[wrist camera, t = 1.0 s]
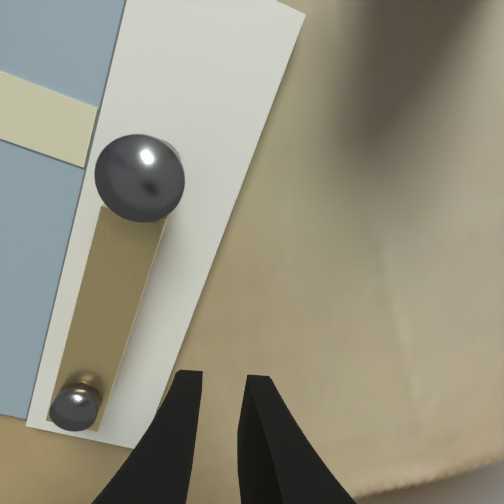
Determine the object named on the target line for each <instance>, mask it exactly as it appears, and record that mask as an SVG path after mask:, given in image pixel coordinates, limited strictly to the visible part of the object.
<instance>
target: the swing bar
mask: <svg viewBox="0 0 504 504" xmlns="http://www.w3.org/2000/svg"><path fill="white" fill-rule="evenodd" d="M168 218H169V214H168V215H167V216H166V217H164V218H162V219H160V220H157V221H153V222H146V223H140V222H133V221H129V220H127V219H124V218H122V217H120V216H118V215H117V214H115V213H114V212H113V211H111V210H110V209H109V208H108V207H107V206H106V205H105V203H104V204H103V205H101V208H100V212H99V216H98V220H97V224H96V228H95V232H94V235H93V239H92V243H91V247H90V251H89V255H88V259H87V263H86V266H85V270H84V274H83V278H82V282H81V286H80V290H79V294H78V297H77V301H76V305H75V309H74V313H73V317H72V321H71V324H70V328H69V332H68V336H67V340H66V344H65V348H64V352H63V355H62V359H61V363H60V367H59V371H58V375H57V379H56V383H55V386H54V390H53V394H52V398H51V402H50V406H49V410H48V413H47V417H46V421H49V422H53V423H54V424H55V425H56V426H58V427H59V428H61V429H63V430H66V431H72V432H77V431H83V430H86V429H87V430H91V431H96V432H98V430H99V427H100V424H101V422H102V419H103V416H104V414H105V411H106V408H107V406H108V403H109V400H110V398H111V395H112V392H113V388H114V385H115V382H116V379H117V376H118V373H119V370H120V367H121V364H122V360H123V357H124V354H125V351H126V348H127V345H128V342H129V339H130V336H131V332H132V329H133V326H134V323H135V320H136V317H137V314H138V311H139V308H140V305H141V301H142V298H143V295H144V292H145V289H146V286H147V283H148V280H149V277H150V273H151V270H152V267H153V264H154V261H155V258H156V255H157V252H158V249H159V245H160V242H161V239H162V236H163V233H164V230H165V227H166V224H167V221H168Z"/></svg>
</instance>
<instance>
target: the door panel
mask: <svg viewBox="0 0 504 504" xmlns="http://www.w3.org/2000/svg"><path fill="white" fill-rule="evenodd" d="M304 18H305V14H303V13H301V12H299V11H297V10H295V9H293V8H291V7H289V6H287V5H285V4H282V3H280V2H278V1H276V0H0V414H4V415H8V416H13V417H18V418H22V419H26V420H25V421H27V422H26V426H28V427H33V428H37V429H42V430H47V431H52V432H56V433H61V434H66V435H71V436H75V437H80V438H85V439H89V440H94V441H99V442H104V443H108V444H113V445H118V446H123V447H127V448H132V449H134V448H135V447H136V445H137V444H138V442H139V441H140V439H141V438H142V436H143V435H144V434H145V432H146V430H147V429H148V427H149V426H150V424H151V422H152V421H153V419H154V416H155V414H156V411H157V408H158V406H159V403H160V400H161V398H162V395H163V392H164V390H165V387H166V384H167V382H168V379H169V376H170V374H171V371H172V368H173V366H174V363H175V360H176V358H177V355H178V353H179V350H180V347H181V345H182V342H183V339H184V337H185V334H186V331H187V329H188V326H189V323H190V321H191V318H192V315H193V313H194V310H195V307H196V305H197V302H198V299H199V297H200V294H201V291H202V289H203V286H204V284H205V281H206V278H207V276H208V273H209V270H210V268H211V265H212V262H213V260H214V257H215V254H216V252H217V249H218V246H219V244H220V241H221V238H222V236H223V233H224V230H225V228H226V225H227V222H228V220H229V217H230V215H231V212H232V209H233V207H234V204H235V201H236V199H237V196H238V193H239V191H240V188H241V185H242V183H243V180H244V177H245V175H246V172H247V169H248V167H249V164H250V161H251V159H252V156H253V153H254V151H255V148H256V146H257V143H258V140H259V138H260V135H261V132H262V130H263V127H264V124H265V122H266V119H267V116H268V114H269V111H270V108H271V106H272V103H273V100H274V98H275V95H276V92H277V90H278V87H279V84H280V82H281V79H282V76H283V74H284V71H285V69H286V66H287V63H288V61H289V58H290V55H291V53H292V50H293V47H294V45H295V42H296V39H297V37H298V34H299V31H300V29H301V26H302V23H303V21H304ZM130 134H146V135H150V136H154V137H156V138H158V139H162V140H164V141H167V142H168V143H170V144H171V145H172V146H173V147H174V148H175V149H176V150H177V152H178V153H179V155H180V158H181V163H182V165H183V168H184V172H185V188H184V192H183V195H182V197H181V200H180V202H179V203H178V205H177V206H176V208H175V209H174V210H173V211H172V212H171V213H170V214H169V218H168V221H167V224H166V227H165V230H164V233H163V236H162V239H161V242H160V245H159V249H158V252H157V255H156V258H155V261H154V264H153V267H152V270H151V273H150V277H149V280H148V283H147V286H146V289H145V292H144V295H143V298H142V301H141V305H140V308H139V311H138V314H137V317H136V320H135V323H134V326H133V329H132V332H131V336H130V339H129V342H128V345H127V348H126V351H125V354H124V357H123V360H122V364H121V367H120V370H119V373H118V376H117V379H116V382H115V385H114V388H113V392H112V395H111V398H110V400H109V403H108V406H107V408H106V411H105V414H104V416H103V419H102V422H101V424H100V427H99V430H98V432H96V431H91V430H87V429H86V430H83V431H77V432H72V431H66V430H63V429H61V428H59V427H58V426H56V425H55V424H54V423H53V422H49V421H46V417H47V413H48V410H49V406H50V402H51V398H52V394H53V390H54V386H55V383H56V379H57V375H58V371H59V367H60V363H61V359H62V355H63V352H64V348H65V344H66V340H67V336H68V332H69V328H70V324H71V321H72V317H73V313H74V309H75V305H76V301H77V297H78V294H79V290H80V286H81V282H82V278H83V274H84V270H85V266H86V263H87V259H88V255H89V251H90V247H91V243H92V239H93V235H94V232H95V228H96V224H97V220H98V216H99V212H100V208H101V205H103V204H104V202H103V201H102V199H101V197H100V195H99V194H98V191H97V188H96V185H95V178H94V171H95V165H96V162H97V159H98V157H99V155H100V153H101V152H102V150H103V149H104V148H105V147H106V146H107V145H108V144H109V143H111V142H112V141H114V140H115V139H117V138H120V137H123V136H126V135H130Z"/></svg>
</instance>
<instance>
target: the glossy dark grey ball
mask: <svg viewBox="0 0 504 504" xmlns="http://www.w3.org/2000/svg"><path fill="white" fill-rule="evenodd" d="M94 178H95V185H96V188H97V191H98V194H99V195H100V197H101V199H102V201H103V202H104V203H105V205H106V206H107V207H108V208H109V209H110V210H111V211H113V212H114V213H115V214H117V215H118V216H120V217H122V218H124V219H127V220H129V221H133V222H140V223H146V222H153V221H157V220H160V219H162V218H164V217H166V216H167V215H168V214H170V213H171V212H172V211H173V210H174V209H175V208H176V206H177V205H178V203H179V202H180V200H181V197H182V195H183V192H184V188H185V172H184V168H183V165H182V163H181V158H180V155H179V153H178V152H177V150H176V149H175V148H174V147H173V146H172V145H171V144H170V143H168V142H167V141H164V140H162V139H158V138H156V137H154V136H150V135H146V134H130V135H126V136H123V137H120V138H117V139H115V140H114V141H112V142H111V143H109V144H108V145H107V146H106V147H105V148H104V149H103V150H102V152H101V153H100V155H99V157H98V159H97V162H96V165H95V171H94Z"/></svg>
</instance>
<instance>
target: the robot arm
mask: <svg viewBox="0 0 504 504" xmlns="http://www.w3.org/2000/svg"><path fill="white" fill-rule="evenodd" d="M202 374H203V371H190V370H179V371H178V372H176V374H175V377H174V380H173V382H172V385H171V387H170V390H169V392H168V394H167V396H166V398H165V400H164V401H163V403H162V405H161V407H160V409H159V410H158V412H157V414H156V416H155V417H154V419H153V421H152V422H151V424H150V426H149V427H148V429H147V430H146V432H145V434H144V435H143V436H142V438H141V439H140V441H139V442H138V444H137V445H136V447H135V448H134V450H133V451H132V453H131V454H130V455H129V457H128V458H127V460H126V461H125V462H124V464H123V465H122V466H121V468H120V469H119V470H118V472H117V473H116V474H115V476H114V477H113V478H112V479H111V481H110V482H109V483H108V484H107V486H106V487H105V488H104V489H103V491H102V492H101V493H100V494H99V495H98V496H97V498H96V499H95V500H94V501H93V502H92V503H91V504H186V499H187V493H188V487H189V482H190V476H191V470H192V463H193V455H194V448H195V440H196V432H197V424H198V416H199V408H200V401H201V393H202ZM237 456H238V477H239V487H240V496H241V504H356V502H355V501H354V500H353V499H352V498H351V497H350V495H349V494H348V493H347V492H346V491H345V489H344V488H343V487H342V486H341V485H340V483H339V482H338V481H337V480H336V478H335V477H334V476H333V474H332V473H331V472H330V471H329V469H328V468H327V467H326V465H325V464H324V462H323V461H322V460H321V458H320V457H319V456H318V454H317V453H316V451H315V450H314V449H313V447H312V446H311V444H310V443H309V441H308V440H307V438H306V437H305V435H304V434H303V432H302V431H301V429H300V427H299V426H298V424H297V423H296V421H295V420H294V418H293V416H292V415H291V413H290V411H289V410H288V408H287V406H286V405H285V403H284V401H283V399H282V398H281V396H280V394H279V392H278V390H277V388H276V387H275V385H274V383H273V381H272V379H271V378H270V377H269V376H260V375H247V380H246V385H245V391H244V397H243V402H242V408H241V414H240V419H239V425H238V431H237Z"/></svg>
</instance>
